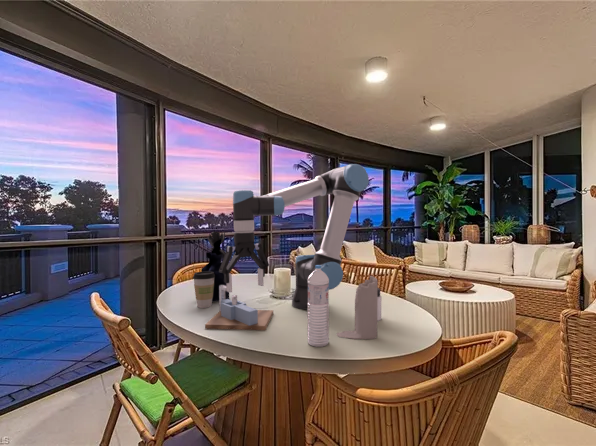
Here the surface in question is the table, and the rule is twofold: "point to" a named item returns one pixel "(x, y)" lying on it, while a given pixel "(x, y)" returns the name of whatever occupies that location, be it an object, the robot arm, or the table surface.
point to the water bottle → (318, 308)
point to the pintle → (234, 300)
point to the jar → (378, 305)
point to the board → (225, 323)
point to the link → (239, 312)
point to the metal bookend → (364, 312)
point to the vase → (216, 263)
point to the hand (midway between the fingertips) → (245, 288)
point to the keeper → (221, 294)
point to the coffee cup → (204, 288)
